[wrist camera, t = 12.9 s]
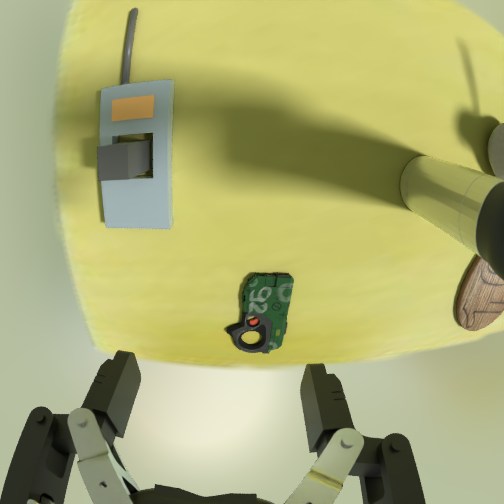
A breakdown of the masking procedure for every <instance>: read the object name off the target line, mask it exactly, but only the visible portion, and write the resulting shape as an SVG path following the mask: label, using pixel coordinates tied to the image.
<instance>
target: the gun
mask: <svg viewBox="0 0 504 504" xmlns="http://www.w3.org/2000/svg"><path fill="white" fill-rule="evenodd" d="M293 282H294V280H293V278H292V276H291V275H290V274H289V273H288V275H278V273H277V274H276V276H274V273H273V275H268V273H265V276H259V273H258V274H257V273H255V276H254V277H253V278H252V279H251V280H249V279H248V283H247V284H246V285H245V287H244V291H243V293H242V302H243V313H242V320H241V323H237V324H234V325H232V326H230V327H228V328H227V333H228V334H230V335H231V336H232V337H233V338H234V340H235V341H234V344H235V345H236V347H237V348H238V349H239V350H242V351H244V352H249V353H257V352H262V353H267V354H269V352H270V351H271V350H274V349H278V348H279V347H280V346H281V345H282V341H283V336H284V334H285V333H286V328H287V322H286V320H287V314H288V308H289V304H290V299H291V293H292V288H293ZM244 295H245V299H243V296H244ZM252 316H254V317H257V318H255V319H250V322H249V321H248V320H247V318H249V317H252ZM248 331H256V332H259V333H260V334H261V335H262V340H261V341H260V342H258V343H256V344H247V343H245V342H244V341H243V340H242V339H241V336H242V335H243V334H244V333H245V332H248Z"/></svg>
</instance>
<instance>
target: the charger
mask: <svg viewBox="0 0 504 504" xmlns="http://www.w3.org/2000/svg"><path fill="white" fill-rule="evenodd" d="M151 144H152V140H146V141H132V142H123V143H116V144H110V145H105V146H99V147H97V159H98V178H99V181H109V180H129V179H131V178H133V177H135V176H137V175H139V174H142V173H144V172H146V171H148V170H150V169H152V151H151Z"/></svg>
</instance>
